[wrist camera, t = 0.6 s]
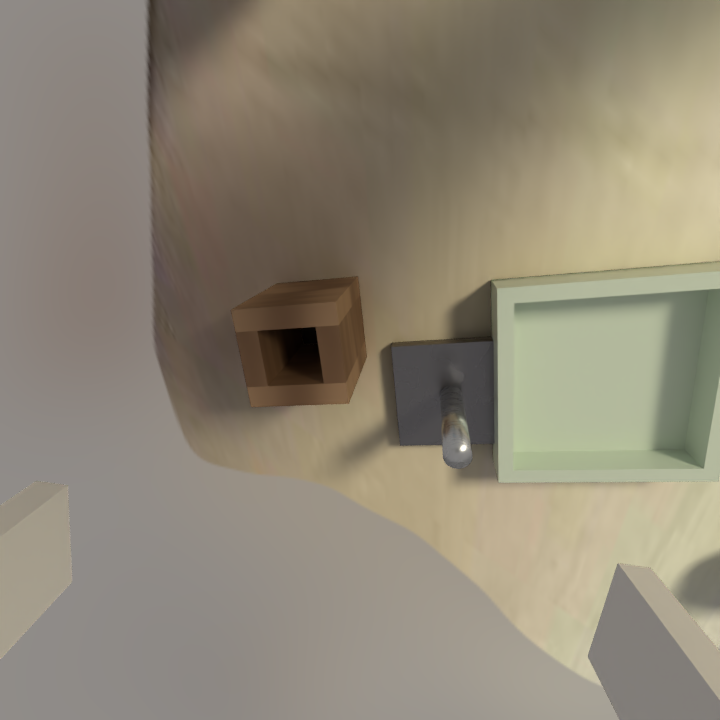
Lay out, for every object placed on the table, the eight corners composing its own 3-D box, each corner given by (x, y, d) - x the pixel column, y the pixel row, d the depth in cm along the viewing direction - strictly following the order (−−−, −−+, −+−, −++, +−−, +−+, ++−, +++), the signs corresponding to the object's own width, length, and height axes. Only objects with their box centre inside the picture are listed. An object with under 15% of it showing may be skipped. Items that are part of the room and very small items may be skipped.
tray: (724, 260, 27) (758, 268, 25) (693, 456, 32) (718, 481, 29) (490, 279, 30) (497, 288, 27) (493, 459, 35) (498, 482, 32)
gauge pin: (506, 335, 31) (534, 387, 23) (506, 436, 34) (531, 516, 25) (392, 342, 32) (379, 393, 24) (400, 438, 35) (392, 514, 27)
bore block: (358, 276, 31) (335, 301, 24) (366, 356, 33) (348, 403, 26) (276, 283, 32) (230, 309, 25) (289, 361, 34) (251, 407, 27)
